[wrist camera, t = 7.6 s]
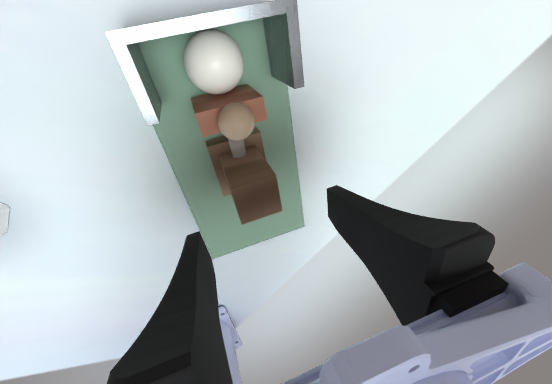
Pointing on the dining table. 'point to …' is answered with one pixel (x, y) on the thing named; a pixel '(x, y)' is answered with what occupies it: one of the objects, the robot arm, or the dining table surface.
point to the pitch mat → (192, 147)
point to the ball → (213, 61)
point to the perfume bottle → (4, 218)
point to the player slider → (239, 150)
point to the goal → (276, 21)
